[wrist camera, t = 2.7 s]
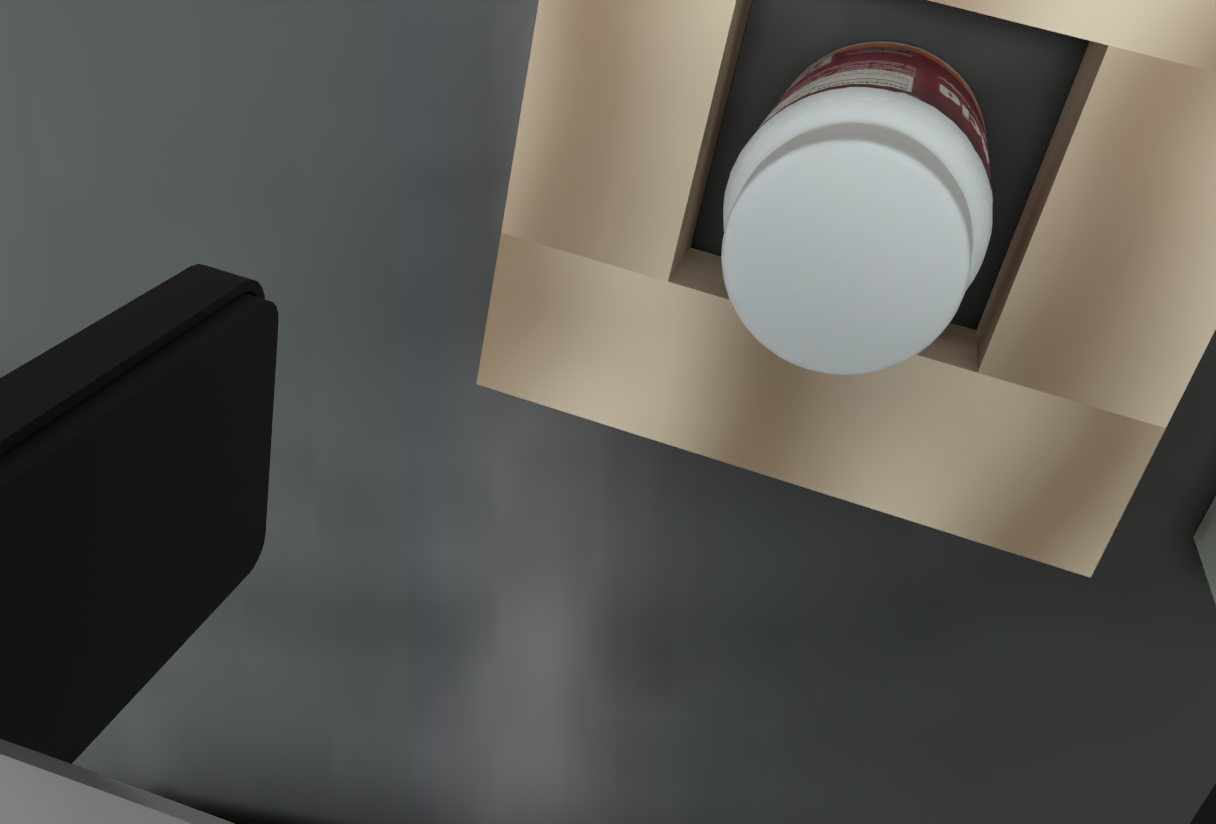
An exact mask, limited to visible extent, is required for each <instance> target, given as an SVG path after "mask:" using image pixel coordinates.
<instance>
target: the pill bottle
mask: <svg viewBox="0 0 1216 824" xmlns="http://www.w3.org/2000/svg"><path fill="white" fill-rule="evenodd" d="M993 200H994V197H993V190H992V184H991V177H990V163H989V154H988V143H987V138H986V130H985V124H984V120H983V116H982V114H981V111H980V108H979V105H978V103H977V101H976V98H975V96H974V94H973V93H972V91H971V89H970V87H969V86H968V84H967V83H966V82H965V80H964V79H963V78H962V76H961V75H960V74H959V73H958V72H956V71H955V70H954V69H953V68H952V67H951V66H950V65H949V64H948V63H946V62H945V61H943V60H942V59H941V58H939V57H938V56H936V55H934V54H932V53H930V52H928V51H926V50H924V49H922V48H919V47H915V46H912V45H908V44H904V43H898V42H890V41H872V42H862V43H857V44H853V45H849V46H846V47H843V48H840V49H838V50H835V51H834V52H832V53H830V54H828V55H826V56H824V57H822V58H821V59H819V60H818V61H816V62H815V63H813V64H812V65H811V66H809V67H808V68H807V69H806V70H805V71H804V72H802V73H801V74H800V75H799V77H797V79H796V80H795V81H794V82H793V83H792V84H791V86H790V87H789V88H788V89H787V91H786V92H785V93H784V95H783V96H782V97H781V99H780V100H779V102H778V103H777V104H776V105H775V106H774V108H773V109H772V110H771V112H770V113H769V115H768V116H767V117H766V118H765V120H764V121H763V123H762V124H761V125H760V127H759V128H758V130H757V131H756V132H755V133H754V134H753V135H752V137H751V138H750V139H749V140H748V141H747V143H746V144H745V145H744V147H743V149H742V150H741V152H740V154H739V155H738V157H737V159H736V161H735V164H734V166H733V168H732V170H731V172H730V175H729V178H728V182H727V186H726V190H725V195H724V205H723V223H724V236H723V242H722V253H721V260H722V271H723V278H724V283H725V287H726V290H727V293H728V297H729V300H730V302H731V303H732V305H733V307H734V309H735V311H736V313H737V315H738V317H739V318H740V320H741V321H742V323H743V324H744V325H745V327H746V328H747V329H748V330H749V332H750V333H751V334H752V335H753V336H754V337H755V338H756V339H757V340H758V341H759V342H760V343H761V344H762V345H763V346H765V347H766V348H767V349H768V350H770V351H771V352H773V353H774V354H776V355H777V356H779V357H780V358H782V359H784V360H786V361H788V362H789V363H791V364H794V365H797V366H799V367H802V368H805V369H808V370H812V371H816V372H821V373H827V374H834V375H858V374H867V373H872V372H877V371H881V370H884V369H887V368H890V367H893V366H895V365H898V364H900V363H902V362H904V361H906V360H908V359H910V358H912V357H913V356H915V355H916V354H918V353H919V352H921V351H922V350H924V349H925V348H926V347H928V346H929V345H930V344H931V343H932V342H933V341H934V340H935V339H936V338H937V337H938V336H939V335H940V334H941V333H942V332H943V331H944V329H945V328H946V327H947V325H948V324H949V323H950V321H951V320H952V319H953V317H954V315H955V314H956V312H957V310H958V308H959V306H960V303H961V301H962V299H963V297H964V294H965V292H966V290H967V289H968V287H969V286H970V284H971V283H972V282H973V280H974V278H975V277H976V275H977V273H978V271H979V269H980V267H981V265H982V262H983V259H984V257H985V254H986V251H987V248H988V244H989V240H990V237H991V232H992V224H993V220H992V205H993Z"/></svg>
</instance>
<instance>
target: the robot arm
mask: <svg viewBox="0 0 1216 824" xmlns="http://www.w3.org/2000/svg"><path fill="white" fill-rule="evenodd" d="M277 335H278V311H277V307H276V305H275V304H274V303H273V302H271V301H268V300H265V295H264V292H263V289H262V286H261V285H260V284H259V283H258V282H257V281H255V280H251V279H248V278H245V277H241V276H238V275H235V274H232V273H228V272H225V271H222V270H219V269H215V268H212V267H209V266H205V265H201V264H197V265H194V266H191V267H189V268H187V269H185V270H184V271H182V272H180V273H179V274H177V275H175V276H174V277H172V278H170V279H168V280H167V281H165V282H163V283H162V284H160V285H158V286H156V287H155V288H153V289H151V290H150V291H148V292H146V293H145V294H143V295H141V296H139V297H138V298H136V299H134V300H133V301H131V302H129V303H128V304H126V305H124V306H122V307H121V308H119V309H117V310H116V311H114V312H112V313H111V314H109V315H107V316H105V317H104V318H102V319H100V320H99V321H97V322H95V323H94V324H92V325H90V326H88V327H87V328H85V329H83V330H82V331H80V332H78V333H77V334H75V335H73V336H71V337H70V338H68V339H66V340H65V341H63V342H61V343H60V344H58V345H56V346H54V347H53V348H51V349H49V350H48V351H46V352H44V353H43V354H41V355H39V356H37V357H36V358H34V359H32V360H31V361H29V362H27V363H26V364H24V365H22V366H20V367H19V368H17V369H15V370H14V371H12V372H10V373H8V374H7V375H5V376H3V377H2V378H0V824H235V823H232V822H229V821H227V820H224V819H221V818H218V817H216V816H213V815H210V814H207V813H205V812H202V811H199V810H197V809H194V808H191V807H188V806H186V805H183V804H180V803H177V802H175V801H172V800H169V799H167V798H164V797H161V796H158V795H156V794H153V793H150V792H148V791H145V790H142V789H139V788H137V787H134V786H131V785H128V784H126V783H123V782H120V781H118V780H115V779H112V778H109V777H107V776H104V775H101V774H99V773H96V772H93V771H90V770H87V769H84V768H82V767H79V766H76V765H73V764H72V763H73V762H74V761H75V760H76V758H77V757H78V756H79V755H80V754H81V753H82V752H83V751H84V750H85V749H86V748H87V747H88V746H89V745H90V743H91V742H92V741H93V740H94V739H95V738H96V737H97V736H98V735H99V734H100V733H101V732H102V731H103V730H104V728H105V727H106V726H107V725H108V724H109V723H110V722H111V721H112V720H113V719H114V718H115V717H116V716H117V714H118V713H119V712H120V711H121V710H122V709H123V708H124V707H125V706H126V705H127V704H128V703H129V702H130V701H131V699H132V698H133V697H134V696H135V695H136V694H137V693H138V692H139V691H140V690H141V689H142V688H143V687H144V686H145V684H146V683H147V682H148V681H149V680H150V679H151V678H152V677H153V676H154V675H155V674H156V673H157V672H158V671H159V669H160V668H161V667H162V666H163V665H164V664H165V663H166V662H167V661H168V660H169V659H170V658H171V657H172V656H173V654H174V653H175V652H176V651H177V650H178V649H179V648H180V647H181V646H182V645H183V644H184V643H185V642H186V640H187V639H188V638H189V637H190V636H191V635H192V634H193V633H194V632H195V631H196V630H197V629H198V628H199V627H200V625H201V624H202V623H203V622H204V621H205V620H206V619H207V618H208V617H209V616H210V615H211V614H212V613H213V612H214V610H215V609H216V608H217V607H218V606H219V605H220V604H221V603H222V602H223V601H224V600H225V599H226V598H227V597H228V595H229V594H230V593H231V592H232V591H233V590H234V589H235V588H236V587H237V586H238V585H239V584H240V583H241V582H242V580H243V579H244V578H245V577H246V576H247V575H248V574H249V573H250V571H251V570H252V569H253V567H254V566H255V564H256V562H257V560H258V558H259V556H260V553H261V551H262V548H263V544H264V540H265V533H266V516H267V500H268V483H269V467H270V450H271V434H272V417H273V401H274V384H275V368H276V351H277ZM1190 824H1216V784H1215V786H1214V787H1213V789H1212V790H1211V792H1210V793H1209V795H1208V797H1207V798H1206V800H1205V801H1204V803H1203V804H1202V806H1201V807H1200V809H1199V810H1198V812H1197V814H1196V815H1195V817H1194V818H1193V820H1192V821H1191V823H1190Z"/></svg>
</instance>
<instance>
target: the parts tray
mask: <svg viewBox="0 0 1216 824" xmlns="http://www.w3.org/2000/svg"><path fill="white" fill-rule="evenodd" d="M1193 538H1194V541H1195V544H1196V547H1197V550H1198V553H1199V556H1200V559H1201V562H1202V565H1203V568H1204V571H1205V574H1206V577H1207V580H1208V583H1209V586H1210V589H1211V592H1212V595H1213V598H1214V601H1215V604H1216V496H1215V498H1214V500H1213V502H1212V504H1211V505H1210V507H1209V509H1208V511H1207V513H1206V515H1205V516H1204V518H1203V520H1202V522H1201V524H1200V526H1199V527H1198V529H1197V531H1196V533H1195V535H1194V537H1193Z"/></svg>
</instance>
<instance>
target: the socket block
mask: <svg viewBox="0 0 1216 824" xmlns="http://www.w3.org/2000/svg"><path fill="white" fill-rule="evenodd" d="M929 1H933V2H937V3H941V4H945V5H949V6H953V7H957V8H961V9H965V10H969V11H973V12H977V13H981V14H985V15H989V16H993V17H997V18H1001V19H1005V20H1009V21H1013V22H1017V23H1021V24H1025V25H1029V26H1033V27H1037V28H1041V29H1045V30H1049V31H1053V32H1057V33H1061V34H1065V35H1069V36H1073V37H1077V38H1081V39H1085V40H1089V41H1090V42H1089V44H1088V47H1087V49H1086V52H1085V54H1084V57H1083V59H1082V62H1081V64H1080V67H1079V70H1078V72H1077V75H1076V77H1075V80H1074V82H1073V85H1072V87H1071V90H1070V93H1069V95H1068V98H1067V100H1066V103H1065V105H1064V108H1063V110H1062V113H1061V116H1060V118H1059V121H1058V123H1057V126H1056V128H1055V131H1054V133H1053V136H1052V138H1051V141H1050V144H1049V146H1048V149H1047V151H1046V154H1045V156H1044V159H1043V161H1042V164H1041V167H1040V169H1039V172H1038V174H1037V177H1036V179H1035V182H1034V184H1033V187H1032V190H1031V192H1030V195H1029V197H1028V200H1027V202H1026V205H1025V207H1024V210H1023V212H1022V215H1021V218H1020V220H1019V223H1018V225H1017V228H1016V230H1015V233H1014V235H1013V238H1012V241H1011V243H1010V246H1009V248H1008V251H1007V253H1006V256H1005V258H1004V261H1003V264H1002V266H1001V269H1000V271H999V274H998V276H997V279H996V281H995V284H994V286H993V289H992V292H991V294H990V297H989V299H988V302H987V304H986V307H985V309H984V312H983V315H982V317H981V320H980V322H979V325H978V327H977V330H974V329H970V328H967V327H964V326H960V325H957V324H953V323H949V324H948V325H947V327H946V328H945V329H944V331H943V332H942V333H941V334H940V335H939V336H938V337H937V338H936V339H935V340H934V341H933V342H932V343H931V344H930V345H929V346H928V347H926V348H925V349H924V350H922V351H921V352H919V353H918V354H916V355H915V356H913V357H912V358H910V359H908V360H906V361H904V362H902V363H900V364H898V365H895V366H893V367H890V368H887V369H884V370H881V371H877V372H872V373H867V374H858V375H834V374H827V373H821V372H816V371H812V370H808V369H805V368H802V367H799V366H797V365H794V364H791V363H789V362H788V361H786V360H784V359H782V358H780V357H779V356H777V355H776V354H774V353H773V352H771V351H770V350H768V349H767V348H766V347H765V346H763V345H762V344H761V343H760V342H759V341H758V340H757V339H756V338H755V337H754V336H753V335H752V334H751V333H750V332H749V330H748V329H747V328H746V327H745V325H744V324H743V323H742V321H741V320H740V318H739V317H738V315H737V313H736V311H735V309H734V307H733V305H732V303H731V302H730V300H729V297H728V293H727V290H726V287H725V283H724V278H723V271H722V260H721V256H718V255H714V254H711V253H708V252H704V251H701V250H697V249H694V248H690V247H691V243H692V239H693V235H694V231H695V227H696V223H697V219H698V215H699V211H700V207H701V203H702V199H703V195H704V191H705V187H706V183H707V179H708V175H709V171H710V167H711V163H712V159H713V155H714V151H715V147H716V143H717V139H718V135H719V131H720V127H721V123H722V119H723V115H724V111H725V107H726V103H727V99H728V95H729V91H730V87H731V83H732V79H733V75H734V71H735V67H736V63H737V59H738V55H739V51H740V47H741V43H742V38H743V34H744V30H745V26H746V22H747V18H748V14H749V10H750V6H751V2H752V0H539V4H538V10H537V16H536V22H535V28H534V35H533V41H532V47H531V53H530V59H529V65H528V71H527V78H526V84H525V90H524V96H523V102H522V108H521V114H520V120H519V127H518V133H517V139H516V145H515V151H514V157H513V163H512V169H511V176H510V182H509V188H508V194H507V200H506V206H505V212H504V218H503V225H502V231H501V237H500V243H499V249H498V255H497V261H496V267H495V274H494V280H493V286H492V292H491V298H490V304H489V310H488V317H487V323H486V329H485V335H484V341H483V347H482V353H481V359H480V366H479V372H478V378H477V385H481V386H484V387H487V388H490V389H493V390H496V391H500V392H503V393H506V394H509V395H512V396H515V397H519V398H522V399H525V400H528V401H531V402H535V403H538V404H541V405H544V406H547V407H550V408H554V409H557V410H560V411H563V412H566V413H569V414H573V415H576V416H579V417H582V418H585V419H589V420H592V421H595V422H598V423H601V424H604V425H608V426H611V427H614V428H617V429H620V430H623V431H627V432H630V433H633V434H636V435H639V436H643V437H646V438H649V439H652V440H655V441H658V442H662V443H665V444H668V445H671V446H674V447H677V448H681V449H684V450H687V451H690V452H693V453H696V454H700V455H703V456H706V457H709V458H712V459H716V460H719V461H722V462H725V463H728V464H731V465H735V466H738V467H741V468H744V469H747V470H750V471H754V472H757V473H760V474H763V475H766V476H770V477H773V478H776V479H779V480H782V481H785V482H789V483H792V484H795V485H798V486H801V487H804V488H808V489H811V490H814V491H817V492H820V493H823V494H827V495H830V496H833V497H836V498H839V499H843V500H846V501H849V502H852V503H855V504H858V505H862V506H865V507H868V508H871V509H874V510H877V511H881V512H884V513H887V514H890V515H893V516H897V517H900V518H903V519H906V520H909V521H912V522H916V523H919V524H922V525H925V526H928V527H931V528H935V529H938V530H941V531H944V532H947V533H951V534H954V535H957V536H960V537H963V538H966V539H970V540H973V541H976V542H979V543H982V544H985V545H989V546H992V547H995V548H998V549H1001V550H1004V551H1008V552H1011V553H1014V554H1017V555H1020V556H1024V557H1027V558H1030V559H1033V560H1036V561H1039V562H1043V563H1046V564H1049V565H1052V566H1055V567H1058V568H1062V569H1065V570H1068V571H1071V572H1074V573H1078V574H1081V575H1084V576H1087V577H1090V578H1091V576H1092V574H1093V572H1094V570H1095V568H1096V566H1097V564H1098V562H1099V560H1100V558H1101V556H1102V554H1103V552H1104V550H1105V548H1106V546H1107V544H1108V542H1109V540H1110V538H1111V536H1112V534H1113V532H1114V530H1115V528H1116V526H1117V524H1118V522H1119V520H1120V518H1121V516H1122V514H1123V512H1124V510H1125V508H1126V506H1127V504H1128V502H1129V500H1130V498H1131V496H1132V494H1133V492H1134V490H1135V489H1136V487H1137V485H1138V483H1139V481H1140V479H1141V477H1142V475H1143V473H1144V471H1145V469H1146V467H1147V465H1148V463H1149V461H1150V459H1151V457H1152V455H1153V453H1154V451H1155V449H1156V447H1157V445H1158V443H1159V441H1160V439H1161V437H1162V435H1163V433H1164V431H1165V429H1166V427H1167V425H1168V423H1169V421H1170V419H1171V417H1172V415H1173V413H1174V411H1175V409H1176V407H1177V405H1178V403H1179V401H1180V399H1181V397H1182V395H1183V393H1184V391H1185V389H1186V387H1187V385H1188V383H1189V381H1190V379H1191V377H1192V375H1193V373H1194V371H1195V369H1196V367H1197V365H1198V363H1199V361H1200V359H1201V357H1202V355H1203V353H1204V351H1205V349H1206V347H1207V345H1208V343H1209V341H1210V339H1211V337H1212V335H1213V333H1214V331H1215V329H1216V0H929Z"/></svg>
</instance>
